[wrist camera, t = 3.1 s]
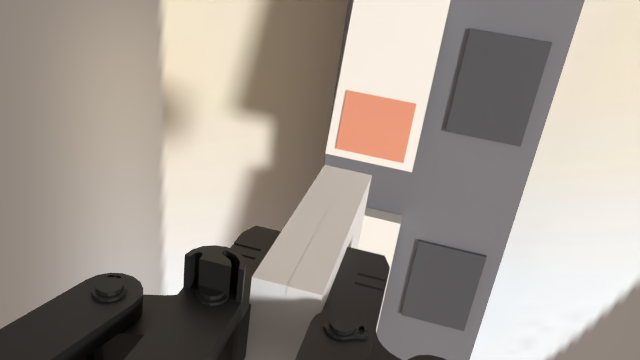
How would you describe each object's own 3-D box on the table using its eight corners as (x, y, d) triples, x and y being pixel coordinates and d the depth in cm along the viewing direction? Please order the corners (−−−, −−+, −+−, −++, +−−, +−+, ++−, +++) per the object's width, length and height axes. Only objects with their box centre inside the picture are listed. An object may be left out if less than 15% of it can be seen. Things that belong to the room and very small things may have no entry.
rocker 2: (329, 198, 27) (322, 206, 26) (402, 215, 26) (400, 224, 25) (304, 328, 29) (296, 342, 27) (373, 347, 28) (369, 362, 27)
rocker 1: (363, -18, 23) (357, -25, 21) (451, -4, 22) (452, -9, 21) (331, 148, 24) (324, 153, 23) (413, 166, 24) (411, 172, 22)
